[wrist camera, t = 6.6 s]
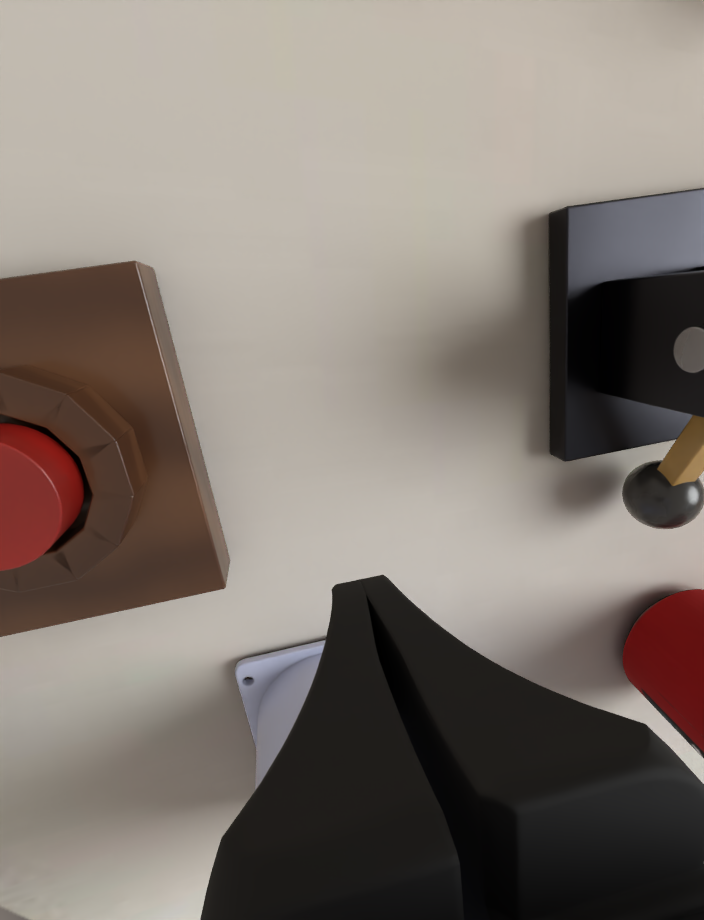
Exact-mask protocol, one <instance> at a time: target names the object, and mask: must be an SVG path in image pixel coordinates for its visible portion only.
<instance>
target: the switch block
mask: <svg viewBox="0 0 704 920" xmlns="http://www.w3.org/2000/svg"><path fill="white" fill-rule="evenodd" d="M0 423H9V424H17V425H21V426H26V427H29V428H32V429H35V430H37V431H39V432H41V433H44V434H46V435H47V436H49V437H50V438H52V439H54V440H55V441H56V442H58V443H59V444H60V445H61V446H62V447H63V448H64V449H65V450H66V451H67V452H68V453H69V454H70V455H71V457H72V458H73V459H74V461H75V462H76V464H77V466H78V468H79V470H80V472H81V475H82V479H83V483H84V501H83V506H82V508H81V511H80V513H79V515H78V517H77V519H76V520H75V521H74V523H73V524H72V525H71V526H70V527H69V528H68V529H67V530H66V531H65V533H64V534H63V535H62V536H61V537H60V538H59V539H58V540H57V541H56V542H55V543H54V544H53V545H52V546H51V547H50V548H49V549H48V550H47V551H46V552H45V553H44V554H43V555H42V556H40V557H39V558H37V559H36V560H34V561H32V562H30V563H29V564H26V565H23V566H21V567H18V568H14V569H10V570H3V571H0V637H2V636H7V635H12V634H16V633H21V632H26V631H30V630H35V629H39V628H44V627H49V626H53V625H58V624H63V623H67V622H72V621H77V620H81V619H86V618H91V617H95V616H100V615H104V614H109V613H114V612H118V611H123V610H128V609H132V608H137V607H142V606H146V605H151V604H155V603H160V602H165V601H169V600H174V599H179V598H183V597H188V596H193V595H197V594H202V593H206V592H211V591H216V590H220V589H224V588H225V587H226V582H227V576H228V570H229V564H230V558H229V554H228V550H227V546H226V542H225V539H224V535H223V531H222V527H221V523H220V520H219V516H218V512H217V508H216V504H215V501H214V497H213V493H212V489H211V485H210V481H209V478H208V474H207V470H206V466H205V462H204V459H203V455H202V451H201V447H200V443H199V440H198V436H197V432H196V428H195V424H194V421H193V417H192V413H191V409H190V405H189V401H188V398H187V394H186V390H185V386H184V382H183V379H182V375H181V371H180V367H179V363H178V360H177V356H176V352H175V348H174V344H173V340H172V337H171V333H170V329H169V325H168V321H167V318H166V314H165V310H164V306H163V302H162V299H161V295H160V291H159V287H158V283H157V279H156V276H155V272H154V269H153V268H152V267H150V266H147V265H145V264H142V263H140V262H137V261H128V262H121V263H114V264H106V265H99V266H91V267H84V268H76V269H69V270H61V271H54V272H47V273H39V274H32V275H24V276H17V277H9V278H2V279H0Z"/></svg>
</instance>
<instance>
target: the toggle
mask: <svg viewBox="0 0 704 920" xmlns="http://www.w3.org/2000/svg"><path fill="white" fill-rule="evenodd" d="M703 471H704V418H703V417H699V416H695V415H693V416H692V417H691V419H690V420H689V422H688V423H687V425H686V426H685V428H684V429H683V431H682V432H681V434H680V435H679V437H678V438H677V440H676V441H675V443H674V444H673V446H672V447H671V449H670V450H669V452H668V453H667V455H666V456H665V458H664V459H663V460H660V461H652V462H648V463H645V464H642V465H640V466H639V467H637V468H636V469H634V470H633V471H632V472H631V473H630V474H629V475H628V477H627V478H626V480H625V482H624V485H623V490H622V496H623V502H624V504H625V506H626V509H627V510H628V512H629V513H630V514H631V515H632V516H633V517H634V518H635V519H636V520H638V521H639V522H641V523H643V524H645V525H647V526H650V527H653V528H658V529H673V528H677V527H681V526H683V525H686V524H687V523H689V522H691V521H692V520H693V519H695V518H696V516H697V515H698V514H699V513H700V511H701V509H702V507H703V505H704V487H703V485H702V483H701V481H700V479H699V478H698V477H699V476H700V475H701V473H702V472H703Z"/></svg>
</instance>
